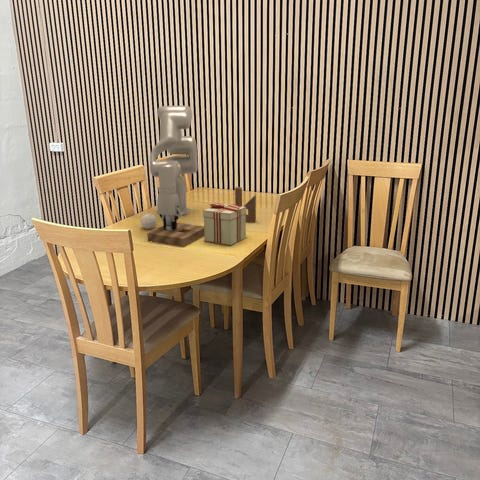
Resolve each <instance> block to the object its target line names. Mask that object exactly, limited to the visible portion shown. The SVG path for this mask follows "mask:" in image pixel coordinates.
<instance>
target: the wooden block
mask: <svg viewBox="0 0 480 480" xmlns="http://www.w3.org/2000/svg"><path fill="white" fill-rule="evenodd" d="M234 195H235V196H234V199H235V201H234V204H235V205H238V206H243V207H246V210H247V213H246V223H251V224H252V223H256V221H257V213H256V212H257V208H256V207H257V202H256V201H257V198H256V197H257V195H256V194H255V195H254V196H252V197H251V198H250V199H249V200H248V201H247V202H246V203H245V204H244V205H243V188H242V186H236V187H235V188H234Z"/></svg>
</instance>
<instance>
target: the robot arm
mask: <svg viewBox="0 0 480 480" xmlns="http://www.w3.org/2000/svg"><path fill="white" fill-rule="evenodd" d="M157 116H158V119H159V120H160V121H159V122H160V123H159V124H160V125H159V126H160V127H159V129H160V130H159V142H157V143H156V144H155V146H154V147H152V150H151V152H150V157H149V171H150V172H149V173H150V174H151V176H152V177H155V178H158V186H157V190H158V191H159V193H158V194H157V203H156V205H157V206H156V207H157V209H156V210H157V211H156V214H157V215H158V216H159V217H160V218H161V221H162V226H164V228H166V218H165V215H169V216H171V217H172V222H171V224H172V230H174V229H176V228H177V223H178V222H177V221H178V220H179V219H180V218H181V217H182V216H184V215H188V214H189V213H190V212H191V211H190V209H189V208H187V207H188V206H187V205H188V203H187V187H186V180H185V178H184V177H183V176H182V175H184V174H185V175H187V174H188V175H189V174H191V175H192V174H196V173H197V172H198V170H199V169H198V168H199V165H198V163H199V162H198V149H197V148H198V147H197V140H196V139H195V137H193V136H191V135H190V136H189V135H188V136H187V135H186V136H183V135H182V133H183V132H182V130H188V129H190V127H191V124H192V119H193V111H192V108H191V107H190V106H189V105H162V106H160V107H158V108H157ZM165 151H167V152H168V154H170V155H173V156H169V157H167V158H166V159H165V160H157V159H158V157H159V155H160V154H162V153H164V152H165ZM175 155H176V156H175ZM182 155H183V156H182Z"/></svg>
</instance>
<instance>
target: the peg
mask: <svg viewBox="0 0 480 480" xmlns="http://www.w3.org/2000/svg"><path fill="white" fill-rule="evenodd" d="M165 218H166V230H169V231H172V224H171V222H172V217H171V216H169V215H165Z"/></svg>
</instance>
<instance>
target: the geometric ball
mask: <svg viewBox="0 0 480 480" xmlns="http://www.w3.org/2000/svg"><path fill="white" fill-rule="evenodd" d="M140 223H141V226H142V227H143V228H144V229H147V230H150V229H153V228H155V227H156V225H157V218H156V216H155V215H154V214H151V212H149V213H146V214H143V215H142V216H141V218H140Z"/></svg>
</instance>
